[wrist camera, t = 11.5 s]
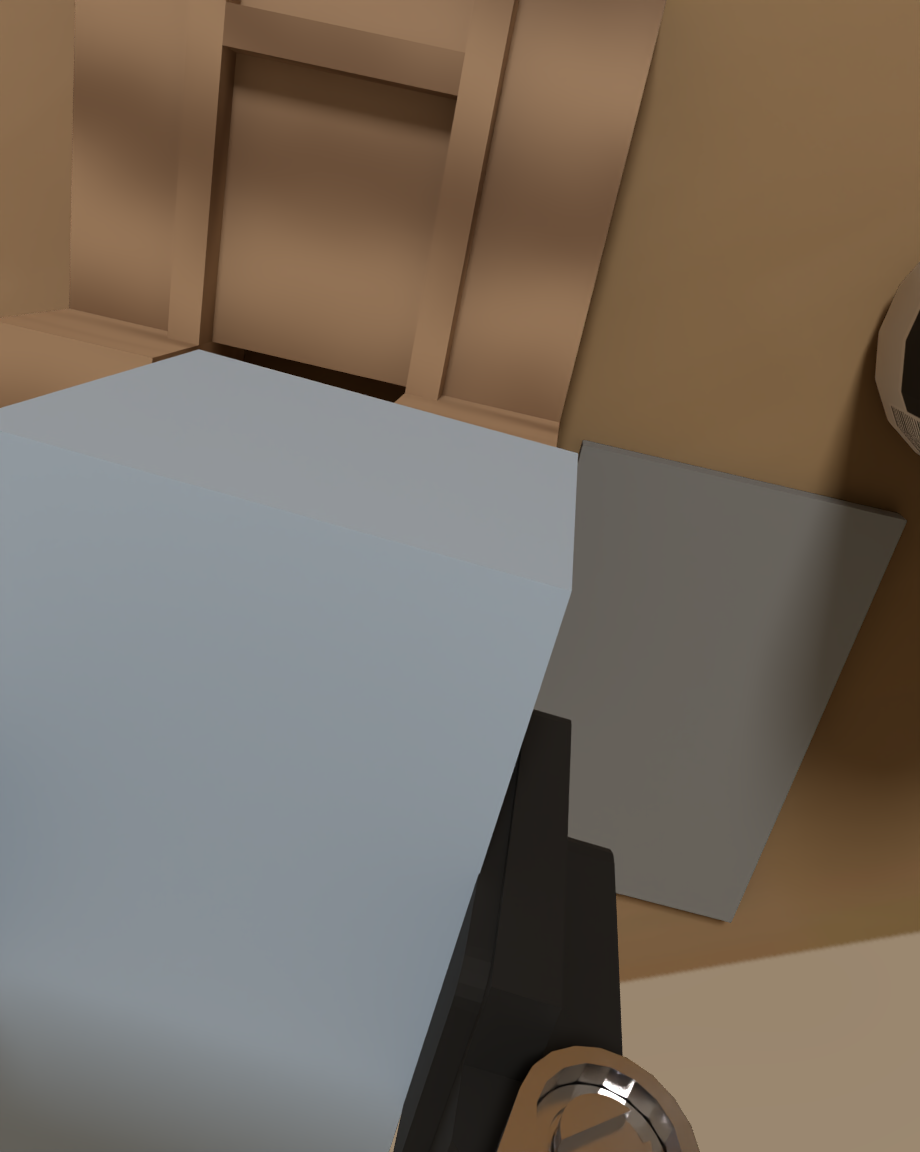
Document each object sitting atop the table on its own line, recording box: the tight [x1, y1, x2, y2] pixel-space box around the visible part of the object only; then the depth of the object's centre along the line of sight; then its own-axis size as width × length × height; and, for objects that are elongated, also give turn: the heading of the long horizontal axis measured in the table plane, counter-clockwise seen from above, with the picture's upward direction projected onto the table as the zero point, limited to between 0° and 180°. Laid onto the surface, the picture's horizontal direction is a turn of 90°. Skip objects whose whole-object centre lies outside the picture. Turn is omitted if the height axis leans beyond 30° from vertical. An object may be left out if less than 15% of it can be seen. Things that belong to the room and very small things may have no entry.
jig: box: [0, 0, 666, 447], centre depth 26 cm, size 24×16×7 cm, turn 168°
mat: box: [533, 440, 907, 923], centre depth 32 cm, size 11×18×1 cm, turn 168°
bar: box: [0, 349, 578, 1152], centre depth 10 cm, size 12×4×4 cm, turn 166°
